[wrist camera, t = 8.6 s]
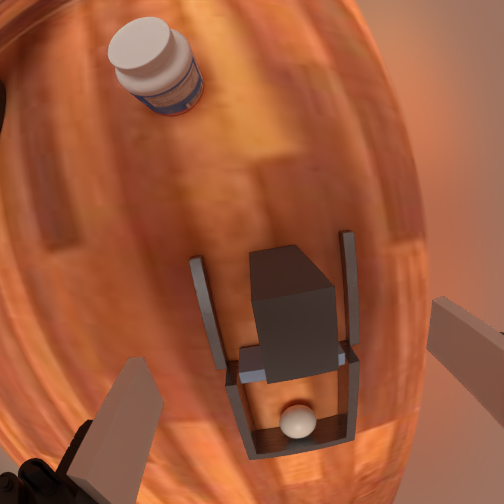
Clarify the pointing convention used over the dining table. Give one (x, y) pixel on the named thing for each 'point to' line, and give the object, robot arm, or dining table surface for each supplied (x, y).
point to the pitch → (344, 423)
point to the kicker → (290, 319)
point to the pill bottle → (156, 66)
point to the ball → (297, 421)
